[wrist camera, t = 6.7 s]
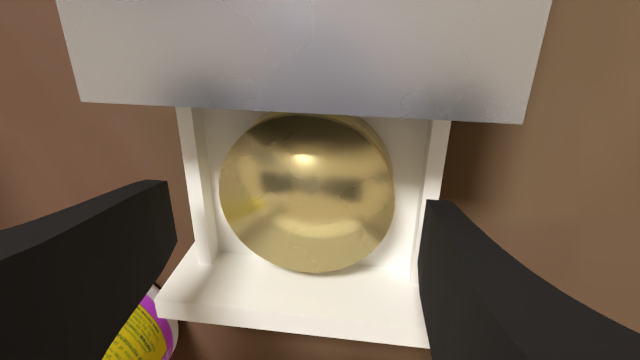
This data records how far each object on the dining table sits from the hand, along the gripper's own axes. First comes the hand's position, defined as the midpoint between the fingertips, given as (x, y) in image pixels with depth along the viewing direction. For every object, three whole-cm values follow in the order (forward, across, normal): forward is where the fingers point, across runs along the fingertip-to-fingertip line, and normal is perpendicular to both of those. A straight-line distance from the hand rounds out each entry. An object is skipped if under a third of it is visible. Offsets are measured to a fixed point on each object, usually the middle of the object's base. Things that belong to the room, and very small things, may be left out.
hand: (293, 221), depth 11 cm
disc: (+3, 0, 0) cm, 3 cm away
